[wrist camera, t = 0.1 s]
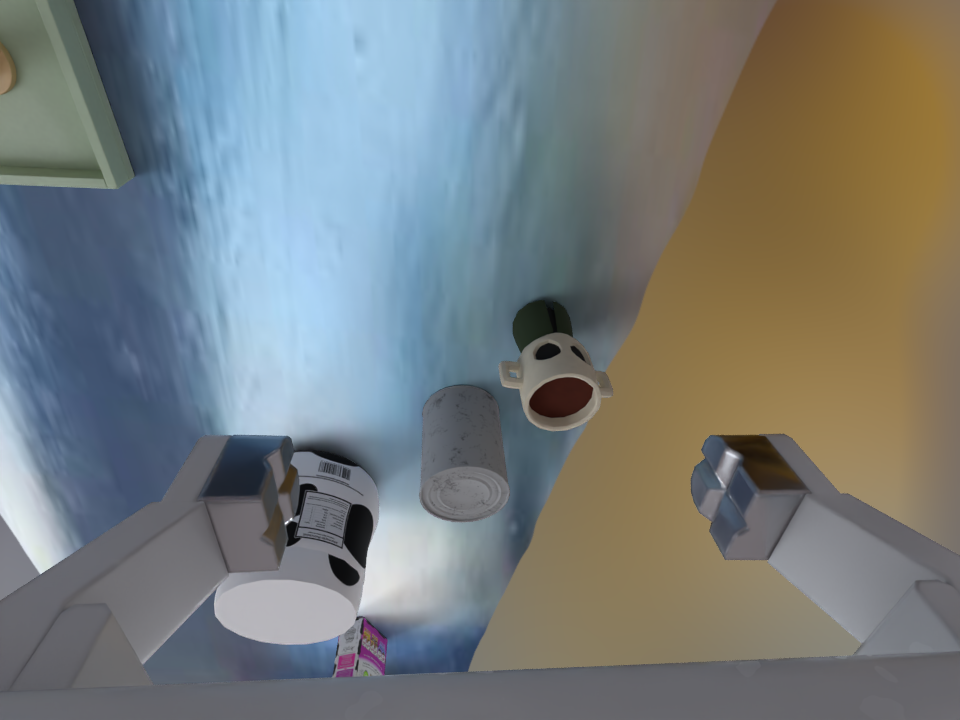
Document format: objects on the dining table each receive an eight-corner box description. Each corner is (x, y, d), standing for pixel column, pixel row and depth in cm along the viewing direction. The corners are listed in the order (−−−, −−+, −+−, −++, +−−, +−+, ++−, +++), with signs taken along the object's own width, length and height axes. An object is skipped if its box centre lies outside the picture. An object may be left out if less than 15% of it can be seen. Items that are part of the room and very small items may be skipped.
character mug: (598, 300, 54) (634, 380, 44) (577, 352, 58) (606, 436, 48) (498, 286, 52) (512, 366, 42) (484, 342, 57) (494, 426, 47)
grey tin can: (494, 379, 60) (504, 460, 51) (503, 434, 66) (514, 515, 57) (414, 391, 61) (410, 473, 51) (430, 444, 67) (429, 527, 57)
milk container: (280, 525, 75) (243, 656, 61) (228, 448, 65) (169, 585, 51) (395, 510, 75) (385, 639, 61) (362, 429, 64) (341, 563, 50)
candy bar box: (339, 620, 95) (323, 725, 82) (363, 615, 94) (351, 719, 81) (365, 644, 102) (354, 744, 89) (388, 639, 101) (381, 739, 88)
